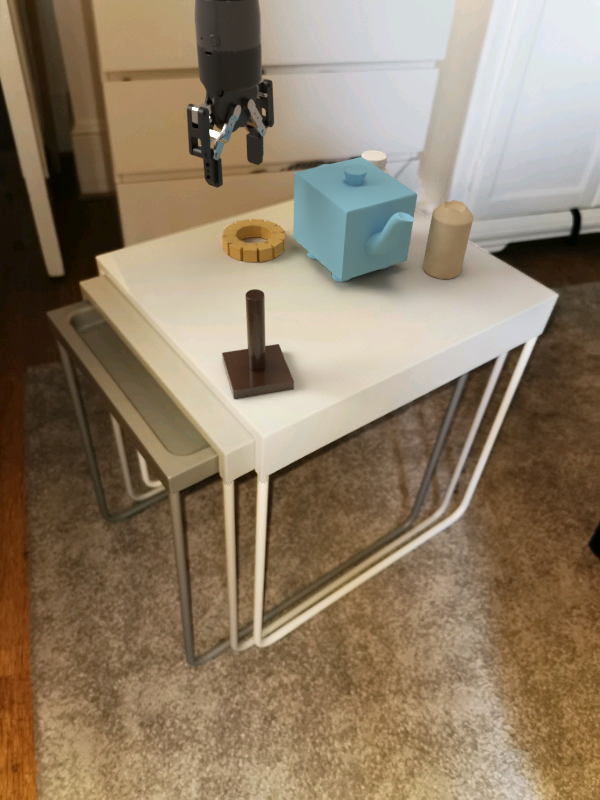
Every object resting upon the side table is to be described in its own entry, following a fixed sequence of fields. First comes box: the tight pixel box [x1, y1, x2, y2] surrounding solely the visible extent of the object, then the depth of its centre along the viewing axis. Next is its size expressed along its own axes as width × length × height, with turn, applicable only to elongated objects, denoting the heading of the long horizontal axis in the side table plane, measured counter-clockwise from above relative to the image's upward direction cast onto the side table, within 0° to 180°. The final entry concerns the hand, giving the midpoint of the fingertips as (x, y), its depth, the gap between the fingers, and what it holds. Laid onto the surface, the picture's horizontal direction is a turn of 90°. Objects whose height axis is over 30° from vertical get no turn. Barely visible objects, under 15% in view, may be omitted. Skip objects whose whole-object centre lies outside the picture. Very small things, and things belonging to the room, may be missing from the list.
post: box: [221, 288, 295, 400], centre depth 71 cm, size 7×7×11 cm
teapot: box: [292, 156, 418, 283], centre depth 88 cm, size 22×11×14 cm, turn 30°
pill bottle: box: [360, 149, 390, 175], centre depth 102 cm, size 5×5×9 cm
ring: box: [221, 218, 286, 264], centre depth 95 cm, size 9×9×2 cm
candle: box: [422, 199, 474, 280], centre depth 89 cm, size 6×6×10 cm
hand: (235, 173), depth 85 cm, fingers open, 8 cm apart
